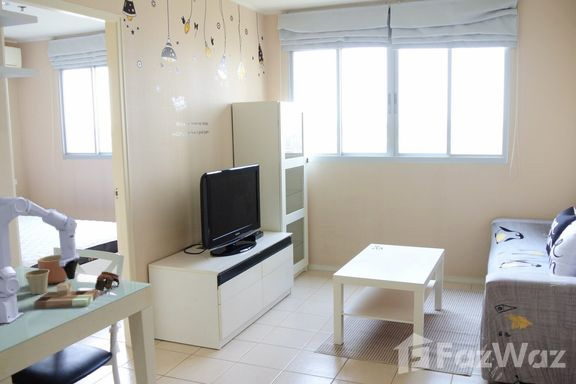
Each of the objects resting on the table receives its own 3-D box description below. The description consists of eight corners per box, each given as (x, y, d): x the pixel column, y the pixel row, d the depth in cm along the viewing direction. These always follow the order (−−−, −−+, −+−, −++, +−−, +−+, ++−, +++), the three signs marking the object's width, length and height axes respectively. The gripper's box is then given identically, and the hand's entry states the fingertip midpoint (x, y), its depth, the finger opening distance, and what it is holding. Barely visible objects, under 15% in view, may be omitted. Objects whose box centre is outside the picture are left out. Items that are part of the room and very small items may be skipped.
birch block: (67, 294, 207) (66, 285, 207) (57, 295, 207) (56, 285, 207) (71, 291, 211) (70, 282, 211) (61, 292, 211) (60, 282, 211)
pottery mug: (90, 289, 223) (97, 270, 226) (112, 295, 227) (118, 277, 230) (97, 289, 213) (104, 269, 216) (120, 295, 218) (126, 275, 220)
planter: (48, 278, 242) (46, 255, 241) (74, 277, 241) (72, 254, 240) (34, 286, 230) (31, 262, 228) (62, 285, 229) (59, 261, 228)
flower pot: (41, 296, 215) (39, 275, 214) (21, 295, 217) (19, 275, 216) (56, 289, 224) (54, 269, 223) (36, 288, 226) (34, 269, 225)
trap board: (87, 306, 200) (86, 299, 200) (34, 308, 201) (34, 301, 200) (98, 296, 212) (98, 289, 212) (49, 297, 213) (48, 291, 212)
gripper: (70, 250, 207) (73, 283, 208) (84, 241, 221) (87, 273, 223) (52, 250, 207) (55, 284, 209) (68, 242, 221) (71, 274, 223)
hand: (71, 278), depth 216 cm, fingers closed
